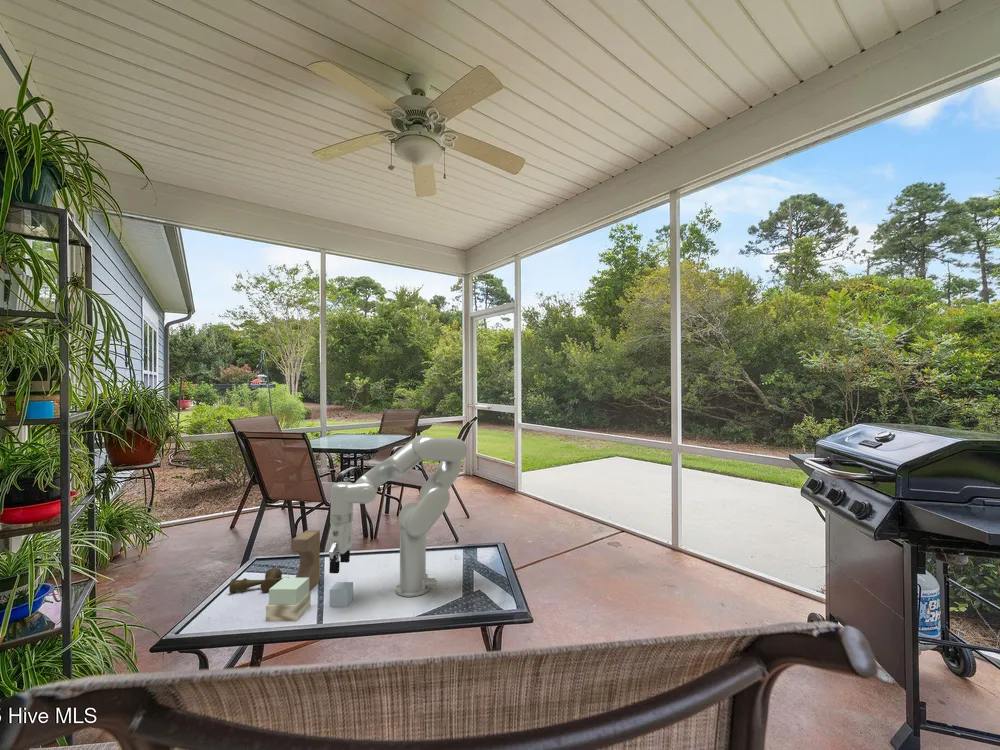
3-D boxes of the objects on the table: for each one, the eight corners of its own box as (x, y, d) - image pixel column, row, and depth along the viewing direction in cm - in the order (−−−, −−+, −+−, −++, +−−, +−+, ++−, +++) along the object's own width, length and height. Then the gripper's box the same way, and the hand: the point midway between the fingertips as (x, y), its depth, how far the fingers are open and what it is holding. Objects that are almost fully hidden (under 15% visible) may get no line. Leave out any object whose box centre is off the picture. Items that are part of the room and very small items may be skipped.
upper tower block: (309, 592, 149) (309, 577, 149) (296, 605, 140) (296, 589, 140) (283, 592, 149) (283, 577, 150) (268, 604, 140) (269, 589, 141)
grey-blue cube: (353, 599, 154) (353, 581, 154) (346, 607, 148) (347, 589, 148) (336, 599, 154) (336, 582, 154) (329, 607, 148) (329, 589, 148)
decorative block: (306, 594, 157) (306, 539, 158) (290, 594, 158) (291, 539, 159) (320, 581, 169) (320, 529, 169) (306, 581, 169) (306, 529, 170)
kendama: (234, 588, 164) (291, 580, 170) (226, 601, 155) (287, 591, 161) (234, 573, 164) (291, 565, 170) (226, 584, 155) (286, 575, 161)
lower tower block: (310, 606, 149) (310, 591, 149) (296, 621, 139) (296, 606, 139) (281, 606, 149) (281, 592, 149) (265, 622, 139) (266, 606, 139)
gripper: (343, 525, 144) (341, 577, 143) (360, 511, 161) (358, 558, 160) (320, 524, 144) (318, 577, 143) (340, 511, 161) (338, 558, 160)
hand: (339, 567), depth 151 cm, fingers open, 9 cm apart
